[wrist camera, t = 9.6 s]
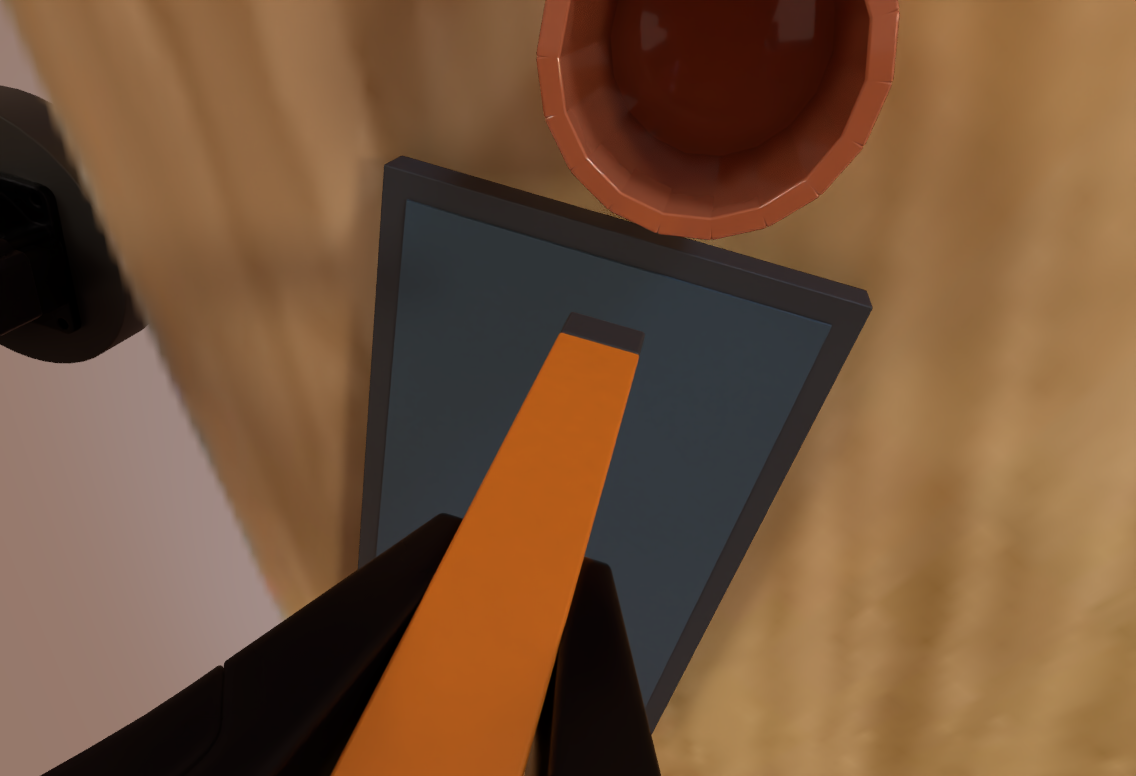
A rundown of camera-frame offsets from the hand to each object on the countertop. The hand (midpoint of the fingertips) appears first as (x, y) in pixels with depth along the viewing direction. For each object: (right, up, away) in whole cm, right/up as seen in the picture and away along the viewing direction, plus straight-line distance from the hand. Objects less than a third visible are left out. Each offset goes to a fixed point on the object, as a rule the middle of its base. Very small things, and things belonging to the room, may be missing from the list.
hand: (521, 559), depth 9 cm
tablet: (0, -2, +16) cm, 16 cm away
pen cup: (+4, +11, +8) cm, 14 cm away
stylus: (+1, +3, +5) cm, 6 cm away
